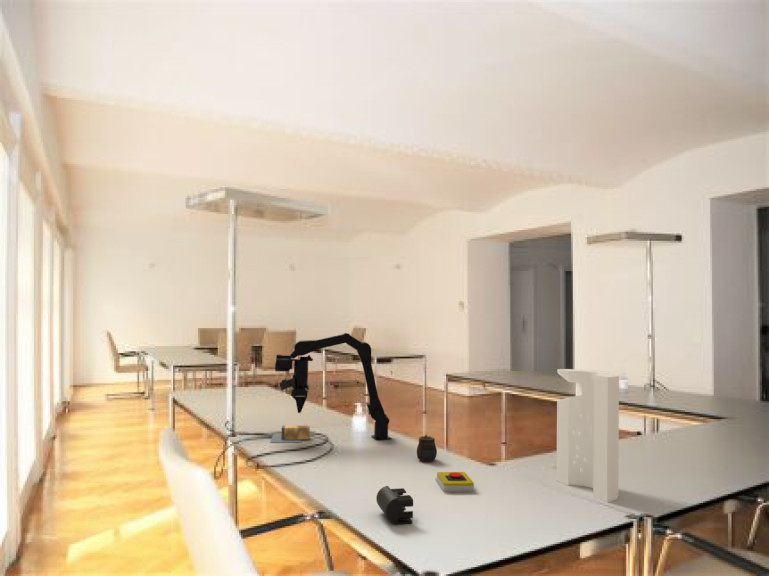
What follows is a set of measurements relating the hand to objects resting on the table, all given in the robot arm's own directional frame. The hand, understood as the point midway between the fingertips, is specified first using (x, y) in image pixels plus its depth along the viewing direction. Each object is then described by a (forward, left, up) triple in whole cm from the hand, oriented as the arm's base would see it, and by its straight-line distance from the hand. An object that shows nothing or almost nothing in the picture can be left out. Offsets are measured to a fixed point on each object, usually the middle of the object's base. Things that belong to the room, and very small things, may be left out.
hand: (299, 410), depth 226 cm
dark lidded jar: (-45, -35, -11) cm, 58 cm away
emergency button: (-73, -30, -12) cm, 80 cm away
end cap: (-91, -3, -12) cm, 92 cm away
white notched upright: (-89, -69, -11) cm, 113 cm away
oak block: (-1, -4, -9) cm, 10 cm away
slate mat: (+1, +5, -11) cm, 12 cm away
